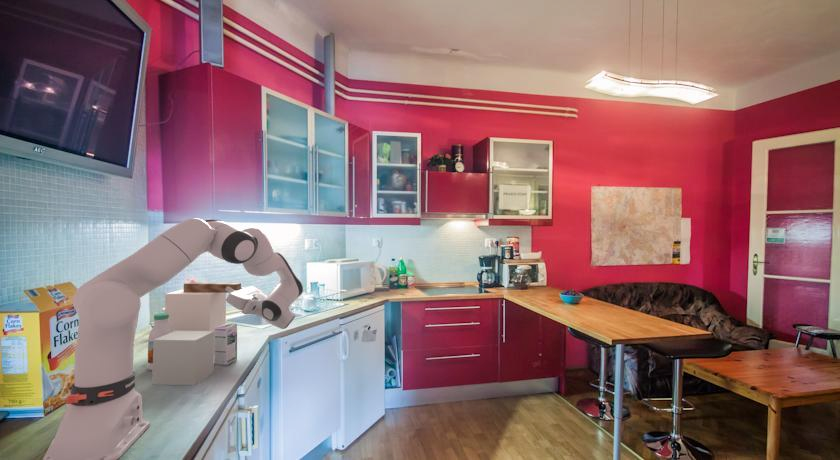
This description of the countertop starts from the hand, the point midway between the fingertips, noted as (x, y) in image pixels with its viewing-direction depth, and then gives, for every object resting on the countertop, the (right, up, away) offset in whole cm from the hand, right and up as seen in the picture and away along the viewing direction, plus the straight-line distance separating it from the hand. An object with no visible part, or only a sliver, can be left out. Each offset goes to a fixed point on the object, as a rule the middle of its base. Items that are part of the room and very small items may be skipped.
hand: (229, 286), depth 147 cm
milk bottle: (-18, -28, -16) cm, 37 cm away
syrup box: (+3, -28, -10) cm, 30 cm away
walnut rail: (-7, -2, 0) cm, 8 cm away
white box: (-14, -28, 0) cm, 31 cm away
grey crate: (-2, -28, -25) cm, 38 cm away
